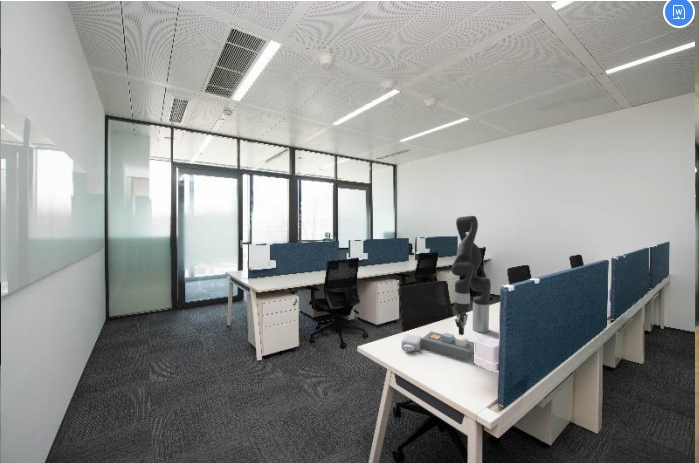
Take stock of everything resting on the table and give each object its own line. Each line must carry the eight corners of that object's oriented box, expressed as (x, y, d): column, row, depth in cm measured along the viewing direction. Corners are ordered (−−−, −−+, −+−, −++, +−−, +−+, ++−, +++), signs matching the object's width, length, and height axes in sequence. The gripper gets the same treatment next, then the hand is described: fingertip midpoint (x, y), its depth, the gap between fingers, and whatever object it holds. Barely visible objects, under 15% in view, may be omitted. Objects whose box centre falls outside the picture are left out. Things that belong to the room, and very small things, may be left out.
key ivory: (458, 345, 150) (458, 335, 150) (467, 347, 147) (467, 338, 147) (455, 348, 146) (455, 338, 146) (464, 350, 143) (464, 341, 143)
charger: (398, 353, 148) (405, 342, 162) (416, 356, 144) (421, 345, 158) (398, 344, 148) (405, 333, 161) (416, 347, 144) (421, 336, 157)
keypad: (431, 339, 164) (431, 331, 164) (475, 352, 149) (475, 342, 148) (421, 347, 154) (421, 338, 153) (467, 361, 139) (467, 351, 138)
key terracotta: (432, 343, 159) (432, 334, 159) (440, 345, 156) (440, 336, 156) (429, 346, 155) (429, 336, 155) (437, 348, 152) (437, 339, 152)
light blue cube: (445, 341, 154) (445, 332, 154) (453, 344, 151) (453, 334, 151) (442, 344, 151) (442, 335, 150) (450, 347, 148) (450, 337, 148)
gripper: (458, 297, 153) (458, 329, 154) (450, 302, 143) (449, 336, 144) (473, 299, 149) (472, 332, 149) (465, 305, 138) (464, 340, 139)
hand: (461, 334), depth 146 cm, fingers closed
